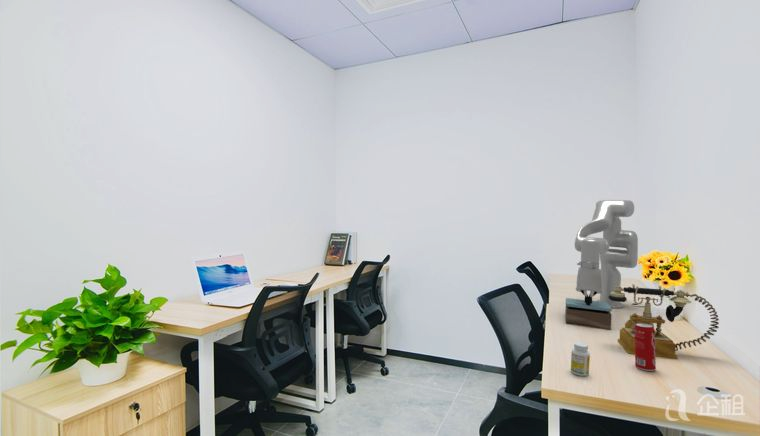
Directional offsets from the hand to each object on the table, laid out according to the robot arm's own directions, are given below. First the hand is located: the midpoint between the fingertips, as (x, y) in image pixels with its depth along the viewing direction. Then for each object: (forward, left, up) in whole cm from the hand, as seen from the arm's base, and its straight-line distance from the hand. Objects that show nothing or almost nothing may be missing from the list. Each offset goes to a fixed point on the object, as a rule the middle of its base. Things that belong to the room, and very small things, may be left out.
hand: (588, 304), depth 175 cm
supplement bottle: (+50, +31, -10) cm, 60 cm away
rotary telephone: (+3, +30, -10) cm, 32 cm away
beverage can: (+26, +38, -10) cm, 47 cm away
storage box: (-4, -3, -9) cm, 11 cm away
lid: (-4, -3, -2) cm, 5 cm away
